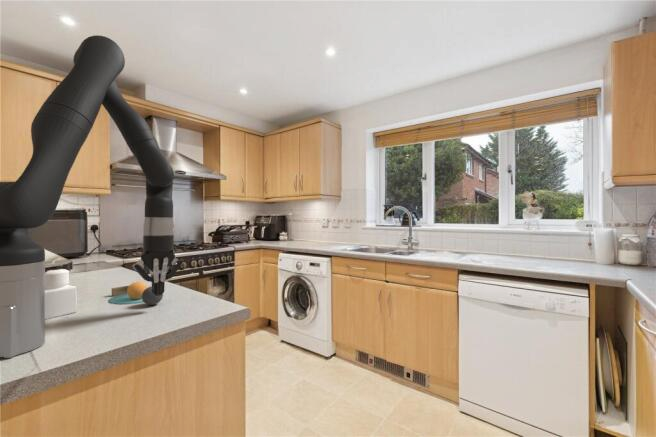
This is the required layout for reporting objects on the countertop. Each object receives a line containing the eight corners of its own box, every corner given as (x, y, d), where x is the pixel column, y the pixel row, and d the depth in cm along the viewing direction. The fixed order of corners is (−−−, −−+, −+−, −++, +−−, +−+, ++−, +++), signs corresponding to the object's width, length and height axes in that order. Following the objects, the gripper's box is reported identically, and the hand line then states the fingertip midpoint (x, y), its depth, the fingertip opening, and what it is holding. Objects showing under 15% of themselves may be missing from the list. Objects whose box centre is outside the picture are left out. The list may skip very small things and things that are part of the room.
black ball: (153, 279, 92) (150, 294, 94) (138, 288, 87) (136, 303, 89) (168, 287, 91) (165, 301, 93) (154, 296, 86) (151, 311, 88)
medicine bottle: (31, 315, 80) (30, 270, 79) (64, 308, 86) (64, 266, 86) (43, 320, 76) (43, 273, 76) (77, 312, 83) (77, 268, 82)
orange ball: (141, 280, 94) (134, 276, 97) (126, 294, 91) (120, 290, 94) (154, 290, 97) (147, 287, 100) (140, 304, 94) (133, 300, 97)
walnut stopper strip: (142, 290, 106) (142, 283, 106) (143, 291, 105) (143, 284, 105) (111, 295, 99) (111, 288, 99) (112, 296, 98) (112, 288, 98)
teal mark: (149, 303, 92) (149, 302, 92) (98, 304, 89) (98, 304, 89) (166, 291, 105) (166, 290, 105) (122, 292, 103) (122, 292, 103)
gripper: (178, 232, 93) (177, 289, 92) (127, 233, 83) (126, 297, 83) (188, 233, 87) (187, 293, 87) (136, 234, 78) (135, 302, 78)
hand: (157, 295), depth 85 cm, fingers closed
